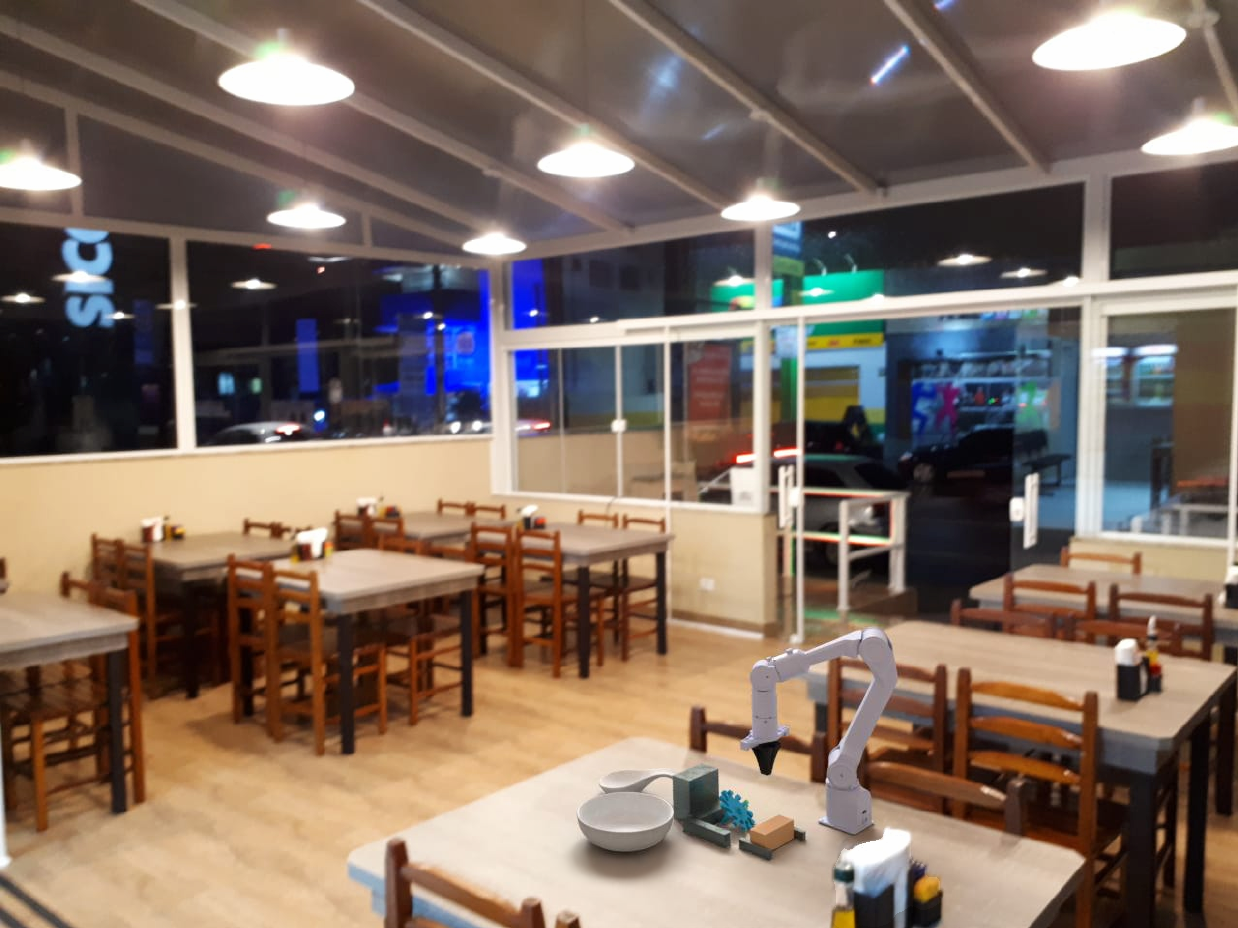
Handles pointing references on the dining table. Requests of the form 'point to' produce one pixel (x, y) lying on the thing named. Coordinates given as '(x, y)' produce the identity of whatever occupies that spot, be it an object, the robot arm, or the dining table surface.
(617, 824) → the serving bowl
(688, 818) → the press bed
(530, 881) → the dining table surface
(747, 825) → the gear
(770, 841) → the press ram
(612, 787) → the spoon rest
